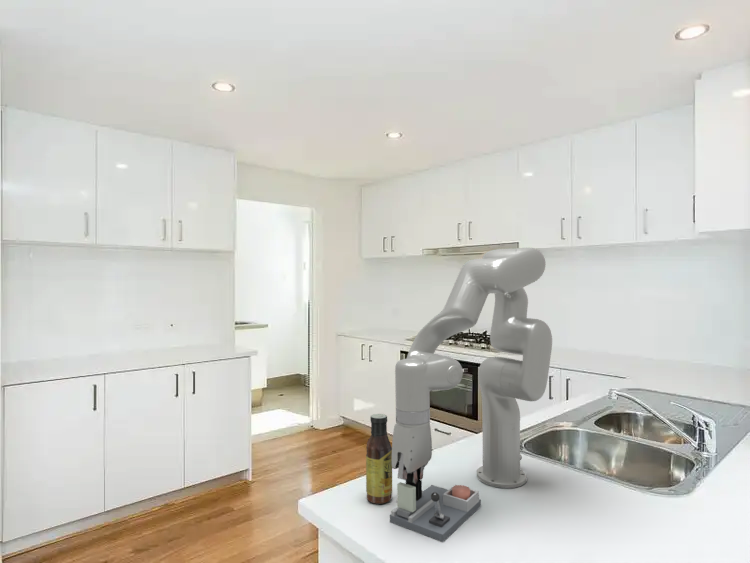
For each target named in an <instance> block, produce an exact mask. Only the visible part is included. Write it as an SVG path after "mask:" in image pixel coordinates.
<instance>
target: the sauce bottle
mask: <svg viewBox="0 0 750 563" xmlns="http://www.w3.org/2000/svg"><path fill="white" fill-rule="evenodd" d="M387 422H388V416H387V415H386V414H384V413H374V414H371V415H370V424H371V425H370V426H371V428H370V430H371V431H370V435H369V436H370V437H369V438H368V440H367V442H366V455H365V464H366V465H365V467H366V468H365V471H366V472H365V477H366V479H365V481H366V482H365V484H366V485H365V487H366V490H365V491H366V499H367V500H368V502H370V503H372V504H378V505H382V504H385V503H386V504H387V503H388V502H390V501H391V500H392V497H393V496H392V495H393V468H392V444H391V442H390V439H389V437H388V431H387V430H388V429H387V428H388V426H387Z"/></svg>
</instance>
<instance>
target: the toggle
mask: <svg viewBox="0 0 750 563" xmlns="http://www.w3.org/2000/svg"><path fill="white" fill-rule="evenodd" d="M439 498H440V496H439V494H438V493H436V492H434V493H432V494H431V499H432V501H433V502H434V506H435V511H436V512H435V513H434V517H436V518H439V519H442V520H444V518H445V515H443V514H442V513H441V508H440V504H439Z"/></svg>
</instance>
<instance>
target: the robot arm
mask: <svg viewBox="0 0 750 563" xmlns="http://www.w3.org/2000/svg"><path fill="white" fill-rule="evenodd" d="M545 258H546V257H545V255H544V254H543V252H541V251H540V250H539V249H537V248H535V247H517V248H516V247H515V248H514V247H512V248H497V249H493V250H492V249H491V250H489V251H486V252H485V253H484V254H483V256H482V258H474V259H470V260H468V261H466V262H465V263H464V264H463V265H462V267H461V268H460V271H459V273H458V275H457V277H456V280H455V282H454V283H453V284H454V285H453V286H452V288H451V291H450V293H449V296H448V298H447V300H446V303H445V305H444V307H443V309H442V310H441V311H440V312H439V313H438V314H437V315H435V316H434V317H433V318H432V319H430V321H428V322H427V323H426V324H425V325H424V326H423V327H422V328H421V329H420V331H419V332H418V333H417V334H416V335H415V338H414V339H413V342H412V343H411V346H410V348H409V350H408V353H407V356H406V358H403V359H399V360H398V361H397V362H396V363H395V369H394V370H395V371H394V375H395V378H394V382H395V383H394V384H395V386H394V387H395V423H394V428H393V433H392V442H391V443H392V444H391V447H392V470H397V478H398V479H400V480H404V481H405V484H408V485H411V486H414V487H416V501H418V500H419V499H420V498H422V491H423V489H422V488H423V487H422V486H423V484H422V482H423V481H422V480H423V478H424V470H425V467H426V466H428V464H429V462H430V461H431V459H432V455H433V440H432V428H431V411H430V410H431V409H430V408H431V407H430V406H431V404H430V403H431V402H430V401H431V400H430V399H431V396H430V392H433V391H449V390H452V389H454V388H455V387H457V386H458V385H459V384H460V383H461V382H462V379H463V375H464V373H463V372H464V371H463V366H462V365H461V364H460V362H459V361H458V360H457V359H455V358H453V357H451V356H447V355H441V354H438V353H435V352H436V350H437V349H438V348H439V346H440V345H441V344H442V343H443V342H444V341H446V340H447V339H449V338H450V337H452V336H454V335H457V334H460V333H462V332H465V331H467V330H469V329H471V328H473V327H475V325H476V324H477V323H478V321H479V318H480V315H481V313H482V310H483V308H484V306H485V304H486V300H487V298H488V296H489V294H494V307H493V315H492V320H491V327H490V334H489V335H490V336H489V342H490V344H491V347H492V348H493V349H494V350H496V351H499V352H501V353H507V354H513V355H519V356H522V360H519V359H515V358H507V357H504V356H503V357H502V356H491V357H488V358H485V359H484V360H483V361H482V362H481V363H480V365H479V367H478V372H477V375H478V376H477V377H478V378H477V379H478V385H479V388H480V389H479V390H480V394H481V395H480V396H481V405H482V421H481V422H482V423H481V424H482V465H481V466H479V467H478V468H477V470H476V478H478V480H479V481H480V482H482V483H483V484H486V485H488V486H491V487H495V488H500V489H501V488H502V489H503V488H504V489H513V488H518V487H521V486H524V485H525V484H526V482H527V474H526V472H524V471H523V470H522V469H521V461H522V459H523V456H522V455H521V412H520V407H519V404H518V401H517V400H520V401H521V400H522V401H526V402H536V401H539V400H540V399H541V398H542V397H543V396H544V394H545V392H546V389H547V385H548V379H549V373H550V372H549V371H550V365H551V356H552V351H553V350H552V349H553V348H552V347H553V335H552V330H551V328H550V325H548V323H546V322H545V321H544V320H541V319H538V318H531V317H528V307H529V306H528V305H529V298H528V297H529V296H528V295H527V292H526V290H525V288H524V287H527V286H529V285H531V284H533V283H535V282H537V281H538V280H539V279H541V278H542V276H543V275H544V273H545V270H546V259H545Z"/></svg>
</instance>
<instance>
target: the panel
mask: <svg viewBox="0 0 750 563" xmlns="http://www.w3.org/2000/svg"><path fill="white" fill-rule="evenodd" d="M456 485H457V484H454V485H453V486H452V487H454V486H456ZM452 487H451V488H449V489H447V488H443V487H440V486H437V485H434V484H431V485H430V486H427V487H426V488H425V489H424V490H422V498H420V499H419V500H418V501H416V512H415V513H413V514H412V515H411V516H409V517H408V519H407V518H405V517H402V516H399V515H397V509H398V508H399V507H397V506H396V507H395V508H394V509H392V510H391V511H390V514H389V522H390V523H392V524H395V525H397V526H399V527H403V528H404V527H405V529H407V530H410V531H412V532H415V533H417V534H420V535H422V536H425V537H428V538H431V539H433V540H436V541H439V542H442V543H444V542H445V541H446V540H447V539H448V538H449V537H450V536H451V535H452V534H453V533H454V532H455V531H456V530H458V528H459V527H461V526H462V525H463V524H464V523H465V522H466V521H467V520H468V519H469V518H471V516H472V515H473V514H474V513H476V512H477V510H479V508H481V507H482V500H481V499H480V491H479V490H476V489H472V488H470V497H469V498H468V499H467V500H464V499H461V498H457V497H454V496H452ZM434 492H436V493H438V494H439V496H440V498H439V504H440V508H441V513H442V514H443V515H445V518H444V520H442V519H439V518H436V517H434V513H435V512H436V511H435V506H434V502H433V501H432V499H431V494H432V493H434Z"/></svg>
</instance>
